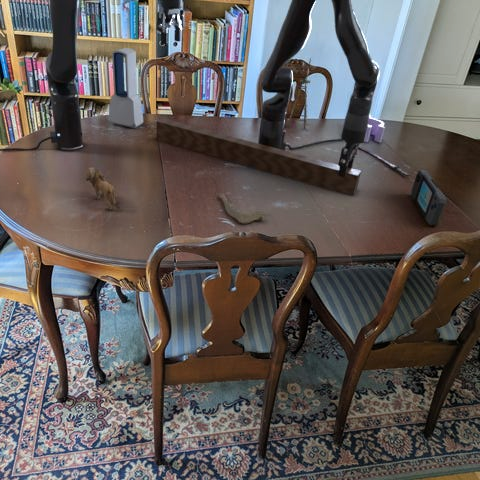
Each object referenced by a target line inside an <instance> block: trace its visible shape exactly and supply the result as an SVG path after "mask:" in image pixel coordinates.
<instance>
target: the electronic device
mask: <svg viewBox="0 0 480 480" xmlns="http://www.w3.org/2000/svg"><path fill="white" fill-rule="evenodd" d="M111 58H112V60H111V61H112V78H113V79H112V81H113V94H111V96H110V100H109V113H108V119H109V121H110V123H111V124H113V125H116V126H121V127H124V128H125V127H126V128H129V129H136V128H138V127H140V126H141V125H142V124H143V123H144V113H143V105H142V98H141V96H140V95H139V94H138V82H137V81H138V80H137V79H138V78H137V51H135V50H134V49H132V48H128V47H124V48H123V47H122V48H120V49H117V50H114V51H113V50H112V51H111ZM124 59H125V60H124ZM124 63H125V64H124Z"/></svg>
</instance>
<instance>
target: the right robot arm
mask: <svg viewBox="0 0 480 480" xmlns="http://www.w3.org/2000/svg"><path fill="white" fill-rule="evenodd" d="M330 1H331V3H332V8H333V16H334V17H333V18H334V21H333V22H334V31H335V35H336V38H337V41H338V43H339V45H340V48H341V50H342V52H343V54H344V56H345V58H346V60H347V64H348V66H349V70H350V73H351V76H352V79H353V80H354V83H353V90H352V93H351V96H350V97H349V101H348V107H347V110H346V114H345V116H344V122H343V126H342V130H341V135H340V138H333V139H325V140H320V141H315V142H311V143H308V144H307V143H306V144H303V145H298V146H296V147H292V146H291V145H290V144H287V142H285V136H286V130H284V128H285V122H286V115H287V108H288V106H289V103H290V97H291V92H292V87H293V80H294V76H293V75H294V74H293V70H292V68H291V67H290V66H284V65H285V64H286V63H287V62H289V61H290V60H291V59H293V58H294V57H296V56H297V55H298V54H299V53H300V52H301V51H302V50H303V48H304V47H305V46H306V43H307V41H308V39H309V36H310V35H311V32H312V18H311V17H312V16H311V14H312V10H313V8H314V6H315V3H316V2H317V0H291V2H290V5H289V7H288V10H287V13H286V15H285V18H284V20H283V22H282V25H281V28H280V31H279V33H278V36H277V39H276V42H275V44H274V46H273V50H272V52H271V54H270V56H269V58H268V60H267V61H266V64H265V65H264V67H263V70H262V73H261V77H260V87H261V90H262V92H265V93H268V94H275V95H274V96H271V97H270V98H268V99H265V100H263V102H262V105H261V114H260V123H259V131H258V138H257V139H258V140H257V143H258V144H262V145H265V146H269V147H273V148H277V149H280V150H284V151H286V147H287V148H288V149H289V150H299V149H303V148H306V147H310V146H314V145H318V144H324V143H330V142H340V141H343V142H345V145H343V147H342V148H341V151H340V155H339V160H338V162H337V165H339V166H340V169H339V173H338V176H340V177H344V176H345V174H346V169H347V167H348V168H352V169H353V164H354V160H355V158H356V156H357V155H358V150H359V148H358V147H359V145H360V144H362V143H365V142H364V138H365V134H366V130H367V126H368V121H369V115H371V110H372V105H373V100H374V99H373V98H374V95H375V92H376V88H377V84H378V81H379V77H380V73H381V72H380V70H381V69H380V66H379V65H378V63H377V62H375V61H374V60H372V57H371V55H370V52H369V48H368V43H367V41H366V38H365V35H364V33H363V30H362V29H361V27H360V23H359V22H358V20H357V17H356V14H355V12H354V11H355V10H354V7H353V5H352V4H353V3H352V1H351V0H330Z"/></svg>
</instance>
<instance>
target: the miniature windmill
mask: <svg viewBox="0 0 480 480" xmlns="http://www.w3.org/2000/svg"><path fill="white" fill-rule="evenodd" d="M311 60H312V58H311V57H310V58H309V61H308V67H307V66H306V67H304V66H302V65H300V64H299V65H298V64H296V67H295V71H304V75H303V78H302V79H301V78H300V79H299V81H298V82H299V83H301V84H300V85H299V89H298V91H297V95H296V98H295V100H294V104H293V107H292V110H291V113H290V116H289V118H288V119H289V120H288V123H287V125H286V126H287V127H289V126H290V123H291V121H293V120H294V121H299V122H303V130H306V125H307V119H308V115H307V107H308V105H307V98H308V96H307V88H308V86H307V84H311V80H309V79H308V78H309V74H310V66H311V62H312V61H311ZM306 73H307V74H306ZM302 90H304V94H300V93H301V91H302ZM299 99H302V100H304V103H303V104H302V103H297V102H298V100H299ZM297 106H303V107H297ZM295 109H299V110H303V112H304V113H303V114H296V113H294V112H295ZM293 116H297V117H303V119H297V118H292V117H293Z"/></svg>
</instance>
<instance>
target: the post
mask: <svg viewBox="0 0 480 480" xmlns="http://www.w3.org/2000/svg"><path fill="white" fill-rule="evenodd" d="M156 141H159V142H160V141H161V142H163V143H167V144H171V145H174V146H177V147H182V148H184V149H187V150H191V151H195V152H199V153H202V154H206V155H210V156H212V157H215V158H220V159H222V160H223V159H224V160H226V161H230V162H234V163H237V164H240V165H244V166H248V167H251V168H253V169H258V170H261V171H264V172H269V173H271V174H276V175H279V176H282V177H285V178H290V179H293V180H297V181H300V182H304V183H307V184H311V185H314V186H318V187H320V188H325V189H327V190H332V191H334V192H338V193H342V194H346V195H347V196H353V197H354V195H355V194H356V192H357V190H358V186H359V182H360V179H361V174H362V170H360V169H355V168H353V167H352V168H348V167H347V169H346V174H345V176H344V177H340V176H338V173H339V169H340V166H339V165H338V163H337V164H336V163H333V162H329V161H325V160H321V159H317V158H314V157H311V156H307V155H302V154H299V153H295V152H291V151H287V150H280V149H277V148H273V147H269V146H265V145H262V144H258V142H253V141H250V140H247V139H243V138H239V137H235V136H232V135H231V136H230V135H228V134H224V133H220V132H216V131H212V130H209V129H205V128H201V127H198V126H194V125H190V124H187V123H182V122H179V121H176V120H172V119H168V118H165V117H164V118H161V119H158V120H156Z"/></svg>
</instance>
